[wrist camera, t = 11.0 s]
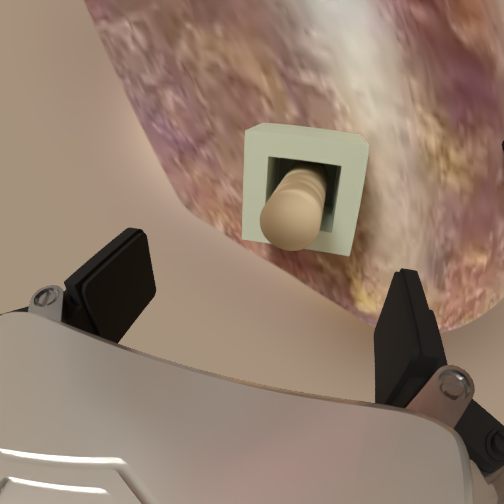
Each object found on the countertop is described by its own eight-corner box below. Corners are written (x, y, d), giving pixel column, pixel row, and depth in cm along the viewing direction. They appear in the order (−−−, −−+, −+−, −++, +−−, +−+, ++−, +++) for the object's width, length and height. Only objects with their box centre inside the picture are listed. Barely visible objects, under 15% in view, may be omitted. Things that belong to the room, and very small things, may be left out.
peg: (330, 161, 29) (324, 200, 18) (325, 198, 31) (314, 256, 20) (291, 155, 29) (261, 190, 19) (287, 192, 31) (257, 244, 21)
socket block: (361, 134, 27) (369, 146, 22) (347, 224, 33) (349, 256, 27) (263, 122, 29) (245, 130, 23) (258, 211, 34) (241, 239, 29)
